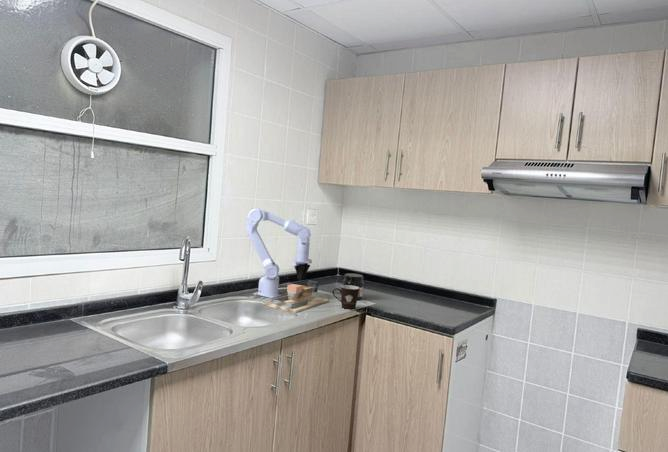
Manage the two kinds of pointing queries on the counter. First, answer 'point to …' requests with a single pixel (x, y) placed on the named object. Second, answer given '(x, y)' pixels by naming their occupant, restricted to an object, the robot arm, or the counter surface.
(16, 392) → the counter surface
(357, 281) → the supplement container
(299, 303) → the stand
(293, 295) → the shaft
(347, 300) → the coffee mug
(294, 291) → the block
